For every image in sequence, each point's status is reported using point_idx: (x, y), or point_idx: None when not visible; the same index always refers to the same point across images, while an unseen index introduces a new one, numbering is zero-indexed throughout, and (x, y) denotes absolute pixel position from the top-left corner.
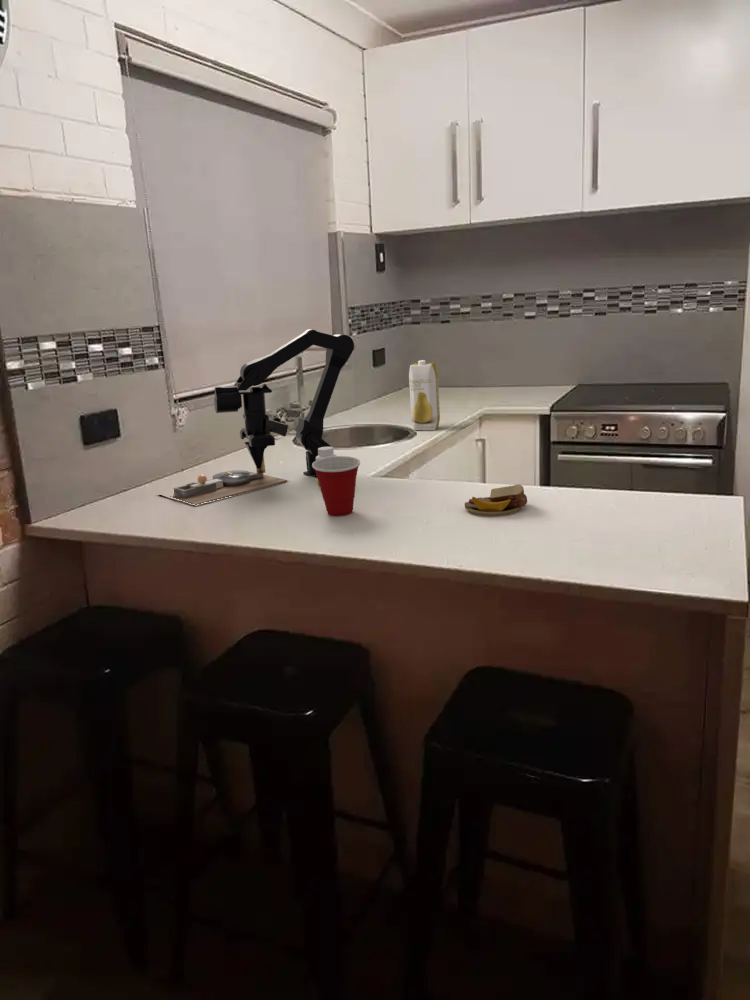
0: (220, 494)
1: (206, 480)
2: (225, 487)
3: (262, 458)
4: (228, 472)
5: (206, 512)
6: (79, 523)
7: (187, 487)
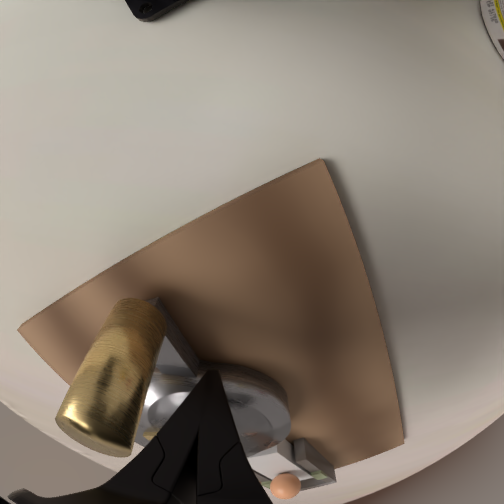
0: (366, 425)
1: (292, 478)
2: None
3: (235, 428)
4: None
5: (460, 411)
6: (343, 499)
7: None
